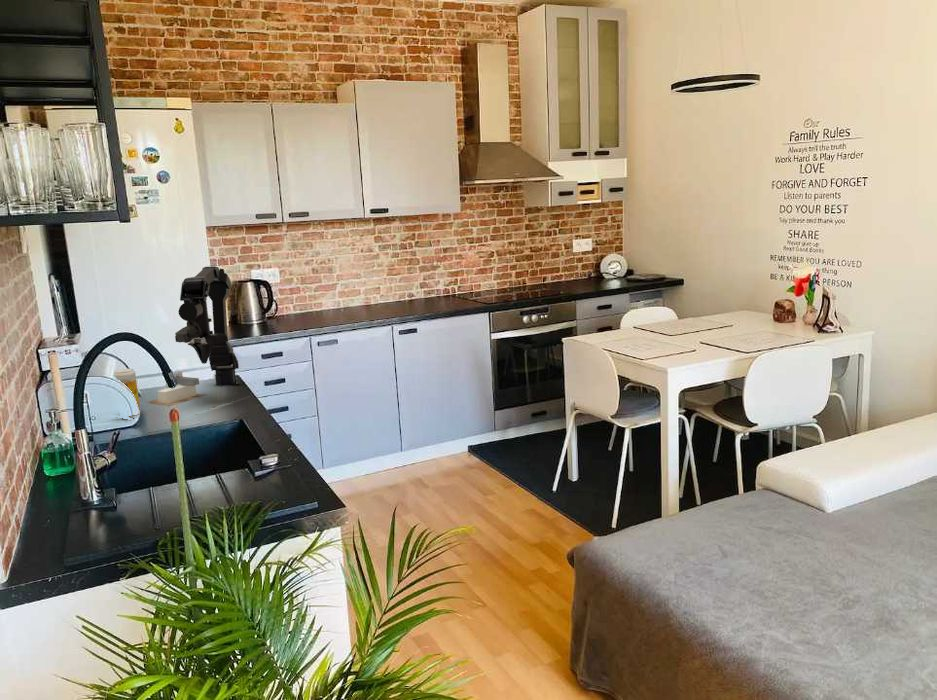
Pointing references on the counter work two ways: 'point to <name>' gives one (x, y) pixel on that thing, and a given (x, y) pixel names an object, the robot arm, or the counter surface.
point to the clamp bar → (187, 380)
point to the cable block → (176, 393)
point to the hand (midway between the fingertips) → (204, 363)
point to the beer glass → (128, 381)
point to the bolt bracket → (176, 375)
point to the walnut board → (175, 401)
